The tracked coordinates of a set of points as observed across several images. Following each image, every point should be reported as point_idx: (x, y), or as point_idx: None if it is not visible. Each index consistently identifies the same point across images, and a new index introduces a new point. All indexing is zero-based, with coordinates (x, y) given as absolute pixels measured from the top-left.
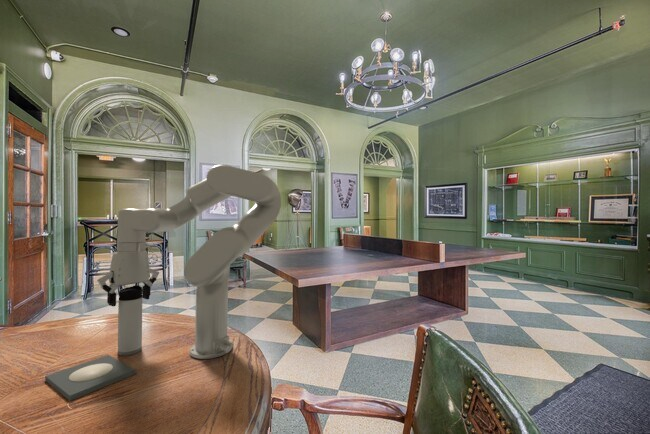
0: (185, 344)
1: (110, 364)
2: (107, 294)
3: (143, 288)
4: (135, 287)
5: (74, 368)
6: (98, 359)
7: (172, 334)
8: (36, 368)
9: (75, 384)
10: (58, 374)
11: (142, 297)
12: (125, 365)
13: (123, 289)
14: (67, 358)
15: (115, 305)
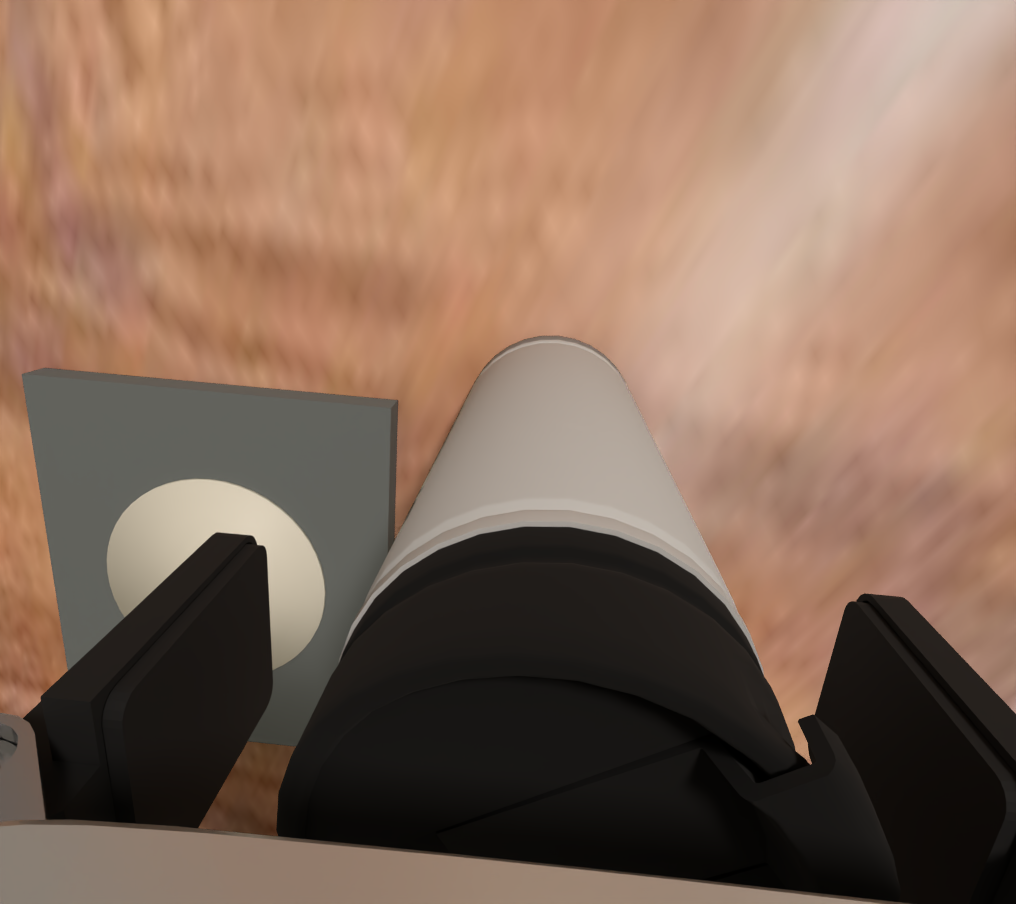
0: (819, 664)
1: (322, 588)
2: (25, 719)
3: (959, 801)
4: (764, 820)
5: (166, 429)
6: (314, 427)
7: (965, 398)
8: (27, 73)
9: None
10: (80, 430)
11: (849, 610)
12: None
13: (473, 673)
14: (222, 80)
15: (267, 690)
